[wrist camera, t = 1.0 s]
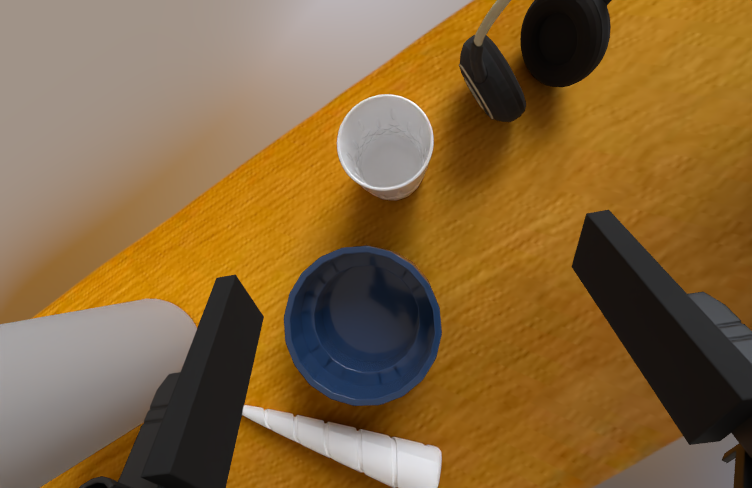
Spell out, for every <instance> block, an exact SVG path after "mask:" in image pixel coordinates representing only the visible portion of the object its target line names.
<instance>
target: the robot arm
mask: <svg viewBox="0 0 752 488" xmlns="http://www.w3.org/2000/svg"><path fill="white" fill-rule="evenodd" d="M572 268H573V269H574V271H575V273H576V274H577V276H578V277H579V279H580V280H581V282H582V283H583V285H584V286H585V288H586V289H587V291H588V292H589V294H590V295H591V297H592V298H593V300H594V301H595V303H596V304H597V306H598V307H599V309H600V310H601V312H602V313H603V315H604V316H605V318H606V319H607V321H608V322H609V324H610V325H611V327H612V328H613V330H614V332H615V333H616V335H617V336H618V338H619V339H620V341H621V342H622V344H623V345H624V347H625V348H626V350H627V351H628V353H629V354H630V356H631V357H632V359H633V360H634V362H635V363H636V365H637V366H638V368H639V369H640V371H641V372H642V374H643V375H644V377H645V378H646V380H647V381H648V383H649V384H650V386H651V387H652V389H653V390H654V392H655V394H656V395H657V397H658V398H659V400H660V401H661V403H662V404H663V406H664V407H665V409H666V410H667V412H668V413H669V415H670V416H671V418H672V419H673V421H674V422H675V424H676V425H677V427H678V428H679V430H680V431H681V433H682V434H683V436H684V437H685V439H686V440H687V442H688V443H689V445H691V444H699V443H708V442H716V441H721V440H722V439H723V438H725V437H726V436H727V435H729V434H730V433H732V434H733V435H734V437H735V438H736V439H737V441H738V442H739V444H738V445H736V446H735V447H734V448H732V449H730V450H729V451H728V452H726V453H725V454H724V456H723V459H722V461H724V462H726V463H728V462H730V461H731V460H733V459H734V458H736V459H735V474H734V488H752V331H751V330H750V329H749V328H748V327H747V326H746V325H745V324H742V323H741V320H740V319H739V318H738V317H737V316H736V315H735V314H734V313H733V312H732V311H731V310H730V309H729V308H728V307H727V306H726V305H725V304H723V303H721V302H720V301H718V300H716V299H715V298H713V297H711V296H710V295H708V294H706V293H705V292H698V293H692V294H686V292H685V291H684V290H683V289H682V288H681V287H680V286H679V285H678V284H677V283H676V282H675V281H674V280H673V278H672V277H671V276H670V275H669V274H668V273H667V272H666V271H665V270H664V269H663V268H662V267H661V266H660V265H659V263H658V262H657V261H656V260H655V259H654V258H653V257H652V256H651V255H650V254H649V253H648V252H647V251H646V249H645V248H644V247H643V246H642V245H641V244H640V243H639V242H638V241H637V240H636V239H635V238H634V237H633V235H632V234H631V233H630V232H629V231H628V230H627V229H626V228H625V227H624V226H623V225H622V224H621V223H620V221H619V220H618V219H617V218H616V217H615V216H614V215H613V214H612V213H611V212H610V211H609V210H605V211H599V212H593V213H588V214H586V217H585V220H584V224H583V228H582V231H581V235H580V238H579V242H578V246H577V249H576V253H575V257H574V260H573V264H572ZM263 318H264V316H263V315H262V314H261V312H260V311H259V309H258V308H257V306H256V305H255V303H254V302H253V300H252V299H251V297H250V296H249V294H248V293H247V291H246V290H245V288H244V287H243V285H242V284H241V282H240V281H239V279H238V278H237V276H236V275H231V276H225V277H219V278H216V281H215V284H214V286H213V289H212V291H211V294H210V297H209V299H208V302H207V304H206V307H205V310H204V312H203V315H202V318H201V320H200V323H199V325H198V328H197V331H196V333H195V336H194V338H193V341H192V344H191V346H190V349H189V351H188V354H187V357H186V359H185V362H184V364H183V367H182V370H181V372H178V373H172V374H169V375H168V376H167V377H166V378H165V380H164V381H163V382H162V384H161V385H160V386H159V388H158V389H157V391H156V393H155V395H154V398H153V400H152V403H151V405H150V410H149V411H148V412H147V414H146V417H145V419H144V424H143V425H142V426H141V429H140V431H139V434H138V436H137V438H136V441H135V443H134V445H133V448H132V450H131V453H130V455H129V457H128V460H127V462H126V464H125V467H124V469H123V472H122V474H121V476H120V478H119V480H118V482H117V481H115V480H112V479H110V478H106V477H103V476H101V477H97V478H93V479H91V480H89V481H88V482H86V483H84V484H83V485H81V486H80V487H79V488H226V483H227V479H228V474H229V470H230V465H231V461H232V456H233V452H234V448H235V443H236V439H237V434H238V430H239V425H240V421H241V416H242V412H243V407H244V403H245V398H246V394H247V389H248V385H249V380H250V376H251V371H252V367H253V362H254V358H255V353H256V349H257V345H258V340H259V336H260V331H261V327H262V322H263Z"/></svg>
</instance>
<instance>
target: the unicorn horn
mask: <svg viewBox="0 0 752 488" xmlns="http://www.w3.org/2000/svg"><path fill="white" fill-rule="evenodd" d="M242 415H244V416H245V417H247V418H249V419H250V420H252V421H254V422H256V423H258V424H260V425H262V426H264V427H266V428H268V429H271V430H273V431H274V432H276V433H278V434H280V435H282V436H284V437H287V438H289V439H291V440H293V441H295V442H297V443H300V444H302V445H303V446H305V447H307V448H309V449H311V450H314V451H316V452H318V453H320V454H322V455H324V456H326V457H328V458H332V459H333V460H335V461H337V462H339V463H341V464H343V465H345V466H348V467H350V468H352V469H354V470H356V471H359V472H364V473H365V474H366V475H367V476H369V477H371V478H374V479H376V480H378V481H380V482H382V483H384V484H386V485H389V486H391V487H393V488H396V487H398V488H438V484H439V479H440V473H441V462H442V455H441V451H440V449H439V448H438V447H435V446H432V445H426V446H425V445H424V444H422V443H419V442H414V441H410V440H406V439H402V438H397V437H392V438H390V437H389V436H388V435H385V434H380V433H376V432H372V431H367V430H363V429H360V430H358V431H357V430H356V428H355V427H350V426H346V425H342V424H337V423H333V422H329V421H328V422H327V423H324V421H323V420H319V419H315V418H310V417H306V416H301V415H297V416H296V417H294V416H293V414H292V413H287V412H282V411H277V410H271V409H266V410H264V409H263V408H260V407H255V406H248V405H244V407H243V412H242Z"/></svg>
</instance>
